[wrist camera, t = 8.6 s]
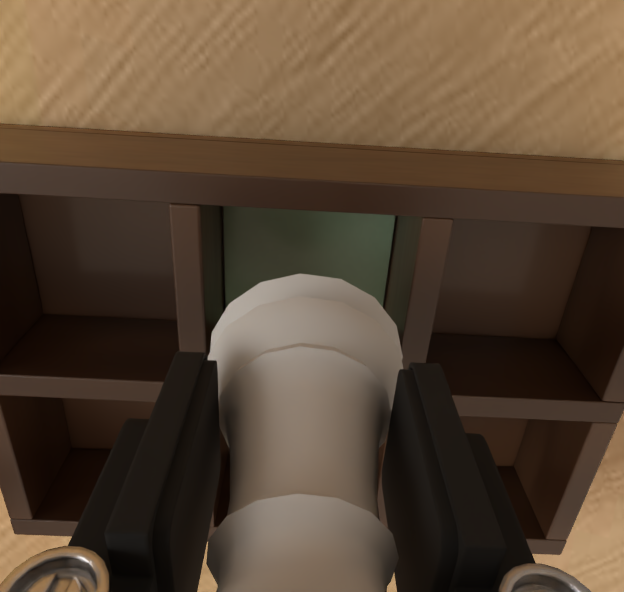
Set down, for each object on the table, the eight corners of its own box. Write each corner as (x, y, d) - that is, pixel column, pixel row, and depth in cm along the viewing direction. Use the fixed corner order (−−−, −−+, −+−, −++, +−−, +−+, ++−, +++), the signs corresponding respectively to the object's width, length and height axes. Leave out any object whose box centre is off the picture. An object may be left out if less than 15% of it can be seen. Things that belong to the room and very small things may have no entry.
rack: (-12, 122, 16) (-106, 155, 12) (627, 160, 17) (716, 202, 13) (61, 450, 22) (14, 535, 19) (522, 469, 23) (561, 555, 19)
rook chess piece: (356, 438, 14) (403, 872, 7) (191, 392, 13) (57, 826, 6) (432, 299, 12) (603, 711, 5) (241, 236, 11) (126, 615, 4)
